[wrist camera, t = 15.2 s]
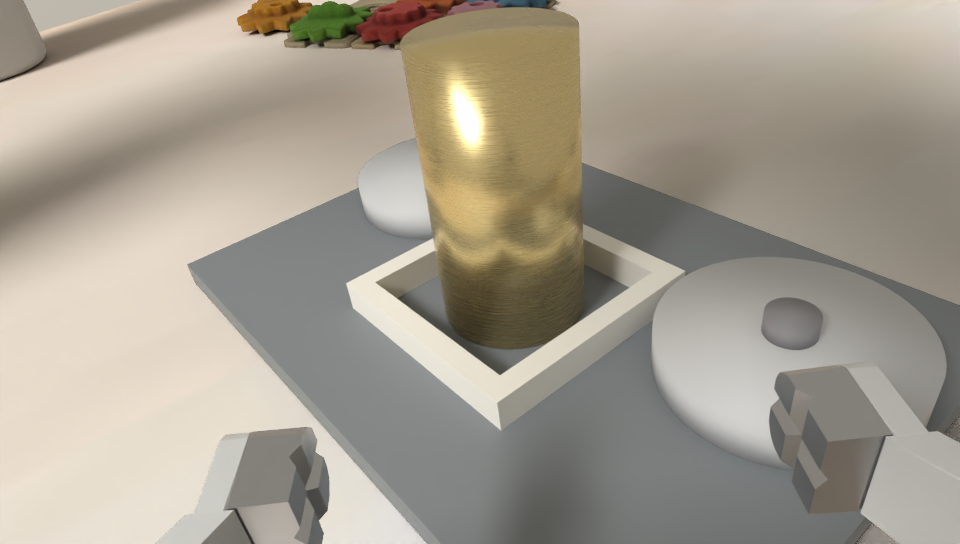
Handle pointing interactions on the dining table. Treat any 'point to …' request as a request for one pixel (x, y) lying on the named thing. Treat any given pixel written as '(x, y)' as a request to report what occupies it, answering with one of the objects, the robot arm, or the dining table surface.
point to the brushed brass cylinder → (502, 169)
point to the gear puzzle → (360, 19)
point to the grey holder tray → (576, 366)
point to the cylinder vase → (18, 39)
